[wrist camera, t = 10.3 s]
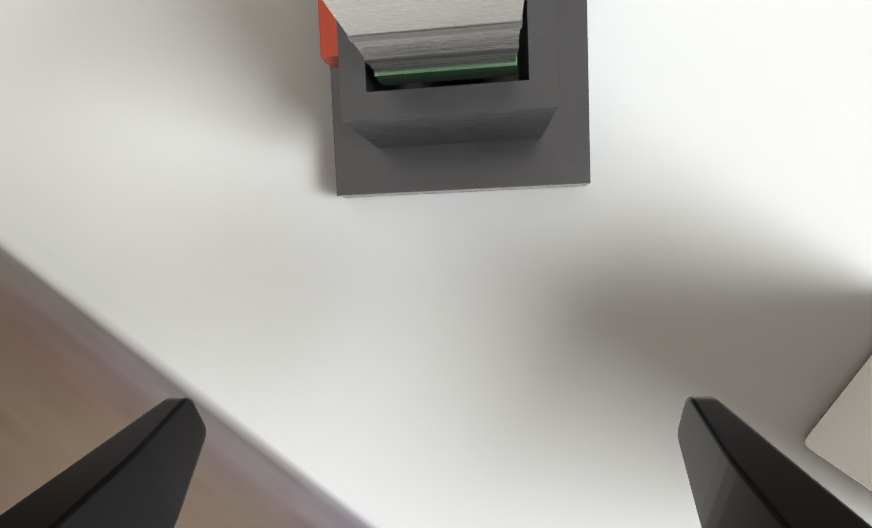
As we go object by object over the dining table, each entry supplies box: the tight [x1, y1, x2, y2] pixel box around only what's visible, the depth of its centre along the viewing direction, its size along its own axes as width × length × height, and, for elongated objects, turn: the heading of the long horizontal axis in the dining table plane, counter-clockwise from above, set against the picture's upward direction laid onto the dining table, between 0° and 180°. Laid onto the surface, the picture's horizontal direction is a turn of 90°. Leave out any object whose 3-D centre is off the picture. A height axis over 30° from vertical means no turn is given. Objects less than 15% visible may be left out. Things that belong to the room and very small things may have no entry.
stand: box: [318, 0, 590, 198], centre depth 17 cm, size 10×10×6 cm
